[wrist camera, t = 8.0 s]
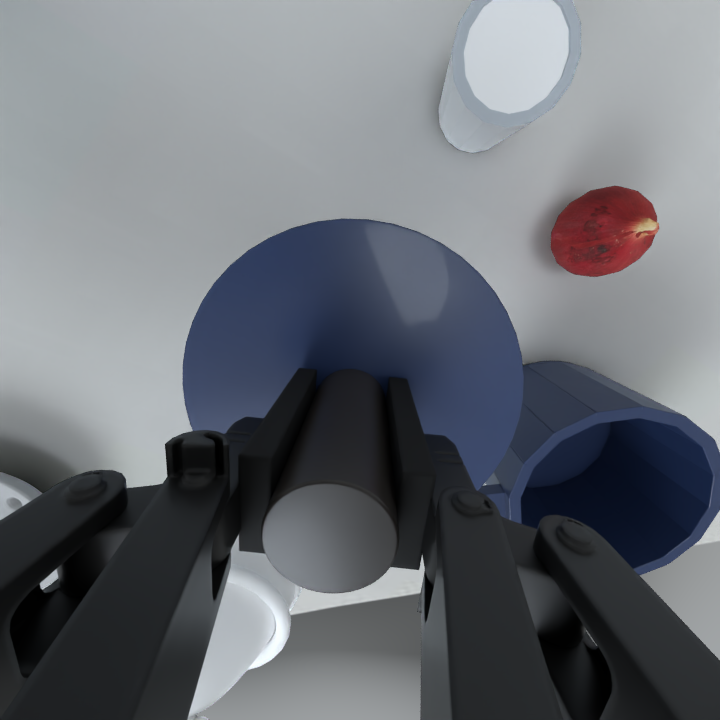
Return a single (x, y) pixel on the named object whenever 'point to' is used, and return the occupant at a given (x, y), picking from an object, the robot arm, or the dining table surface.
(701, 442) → the pot
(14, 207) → the dining table surface
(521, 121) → the white tapered cylinder
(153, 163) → the dining table surface
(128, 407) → the dining table surface
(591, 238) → the onion
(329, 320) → the lid
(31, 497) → the dish
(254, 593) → the honey pot
